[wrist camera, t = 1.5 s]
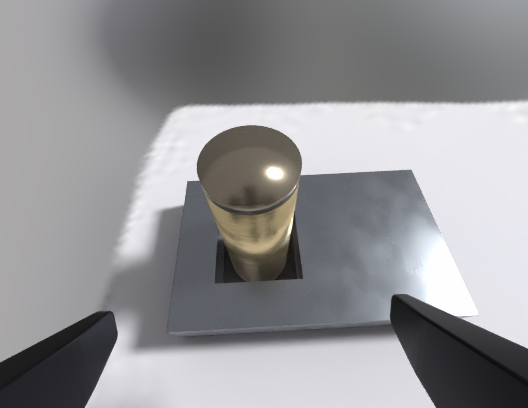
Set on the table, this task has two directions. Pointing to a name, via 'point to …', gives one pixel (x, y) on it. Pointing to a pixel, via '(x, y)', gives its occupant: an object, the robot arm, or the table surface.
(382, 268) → the plate
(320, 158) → the table surface
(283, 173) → the gold metal can
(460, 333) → the robot arm
